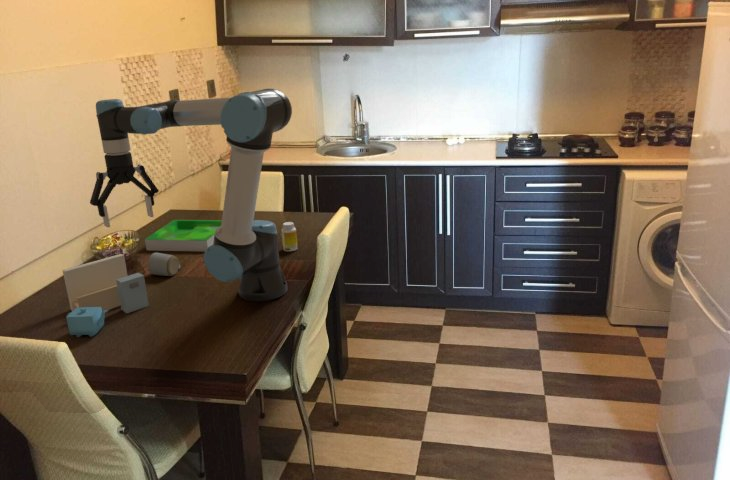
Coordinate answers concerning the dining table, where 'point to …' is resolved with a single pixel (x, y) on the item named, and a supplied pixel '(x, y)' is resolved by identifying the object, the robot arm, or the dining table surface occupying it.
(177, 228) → the tray
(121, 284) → the grey block
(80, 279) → the board
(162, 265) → the grey cylinder
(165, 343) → the dining table surface
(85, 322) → the light blue rounded block
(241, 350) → the dining table surface
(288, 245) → the supplement bottle
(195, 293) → the dining table surface
